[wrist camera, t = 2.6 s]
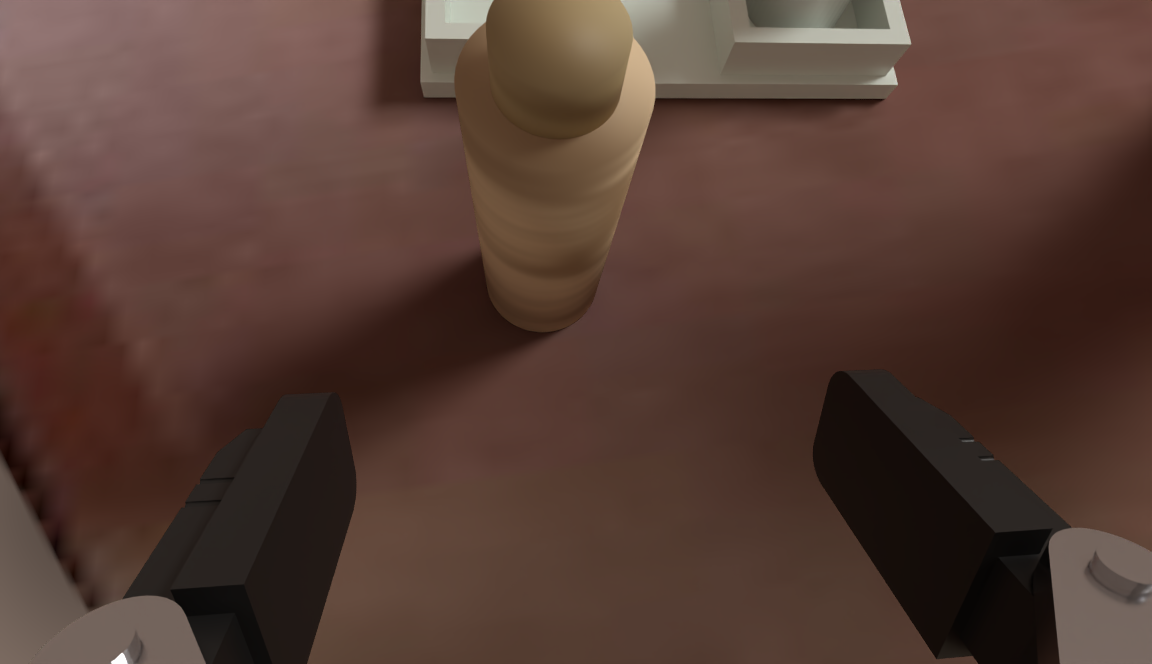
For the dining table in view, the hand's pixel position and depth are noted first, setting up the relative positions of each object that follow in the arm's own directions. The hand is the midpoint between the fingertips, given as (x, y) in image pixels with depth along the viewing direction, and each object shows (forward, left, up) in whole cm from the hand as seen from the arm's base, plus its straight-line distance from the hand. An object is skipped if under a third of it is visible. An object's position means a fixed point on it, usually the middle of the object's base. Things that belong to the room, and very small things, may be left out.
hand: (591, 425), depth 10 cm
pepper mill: (-6, -5, -14) cm, 16 cm away
